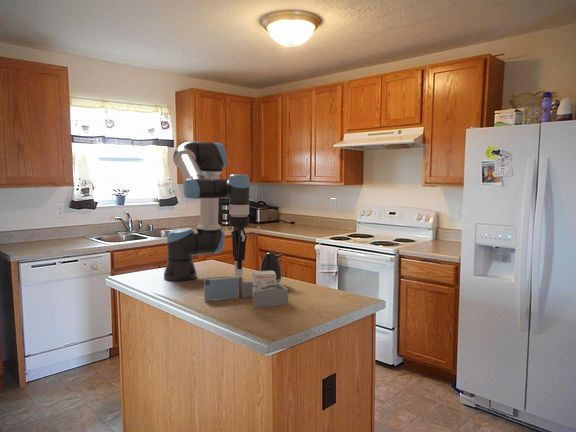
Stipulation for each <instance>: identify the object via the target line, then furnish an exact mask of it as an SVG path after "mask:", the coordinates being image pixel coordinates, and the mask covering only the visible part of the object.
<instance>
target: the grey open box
mask: <svg viewBox="0 0 576 432" xmlns="http://www.w3.org/2000/svg"><path fill="white" fill-rule="evenodd" d="M250 297H252V298H253V280H252V281H244V282H243V277H238V299H242V298H250ZM252 303H253V308H254V309H260V308H268V307H277V306H278V307H280V306H286V305H287V306H288V305H289V288H287V287H286V286H284V285H283V284H282V283H280V282H279V283H278V282H277V281H276V290H266V291H256V292H254V301H253V300H252Z"/></svg>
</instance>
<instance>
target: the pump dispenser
mask: <svg viewBox="0 0 576 432" xmlns="http://www.w3.org/2000/svg"><path fill="white" fill-rule="evenodd" d="M281 257H283V254H282V253H279V254H276V253H275V252H273V251H269V252H266V253H265V254H264V256H263V258H262V260H261V262H260V267H259V271H274V272H275V273H276V281H277V282H278V283H280V282H281V280H282V277H283V276H282V275H283V274H282V268H281V267H282V266H281V263H280V261H279V258H281Z"/></svg>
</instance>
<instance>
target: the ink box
mask: <svg viewBox="0 0 576 432" xmlns="http://www.w3.org/2000/svg"><path fill="white" fill-rule="evenodd" d="M252 281H253V297H252V302H253V301H254V292H256V291H266V290H276V273H275V272H274V271H260V270H258V271H257V270H255V271H253V272H252Z"/></svg>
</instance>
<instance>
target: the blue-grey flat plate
mask: <svg viewBox="0 0 576 432" xmlns="http://www.w3.org/2000/svg"><path fill="white" fill-rule="evenodd" d="M203 285H204V286H203V289H204V293H203V294H204V295H203V299H204V301H213V300H222V299H223V300H225V299H234V298H235V299H236V298H239V277H237V278H236V277H235V276H234V277H233V276H232V277H224V278H220V277H219V278H207V279H203Z"/></svg>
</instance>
